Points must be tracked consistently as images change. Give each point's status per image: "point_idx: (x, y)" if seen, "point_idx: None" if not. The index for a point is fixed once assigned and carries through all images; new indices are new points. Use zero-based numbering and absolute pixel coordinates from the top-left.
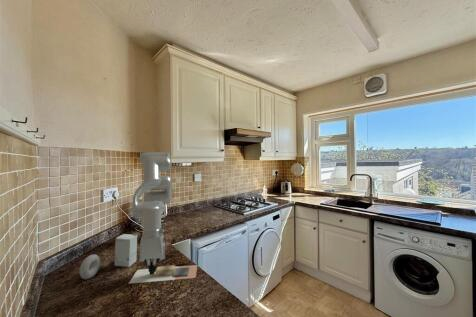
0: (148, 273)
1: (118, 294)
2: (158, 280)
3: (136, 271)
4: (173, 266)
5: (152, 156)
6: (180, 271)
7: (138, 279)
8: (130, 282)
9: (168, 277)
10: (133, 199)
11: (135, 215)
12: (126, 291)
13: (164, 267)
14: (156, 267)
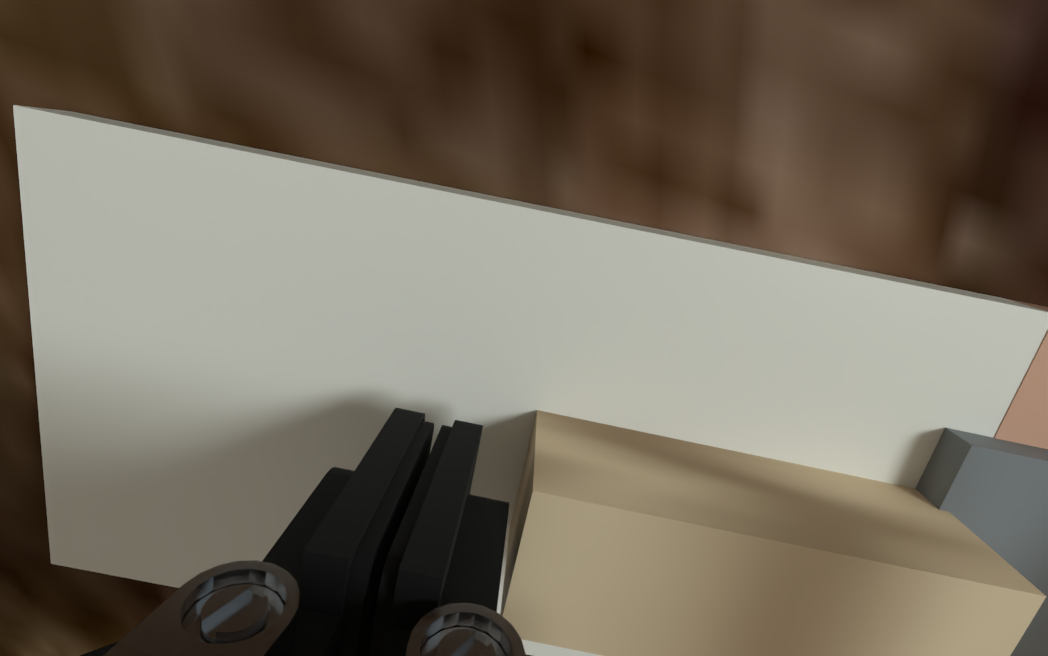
0: (337, 372)
1: (33, 650)
2: (570, 650)
3: (21, 188)
4: (981, 625)
5: None
6: (1042, 603)
7: (190, 506)
8: (74, 547)
9: None
10: None
11: None
12: (118, 628)
13: (728, 586)
14: (505, 534)
